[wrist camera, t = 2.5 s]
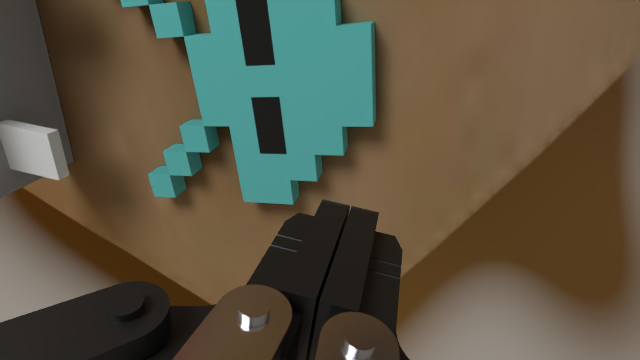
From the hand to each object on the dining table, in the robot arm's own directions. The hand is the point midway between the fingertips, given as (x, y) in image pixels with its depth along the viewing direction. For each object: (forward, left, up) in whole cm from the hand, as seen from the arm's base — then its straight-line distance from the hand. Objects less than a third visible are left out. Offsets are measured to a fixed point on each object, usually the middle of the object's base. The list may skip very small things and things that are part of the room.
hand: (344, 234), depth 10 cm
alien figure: (+11, +1, -20) cm, 23 cm away
